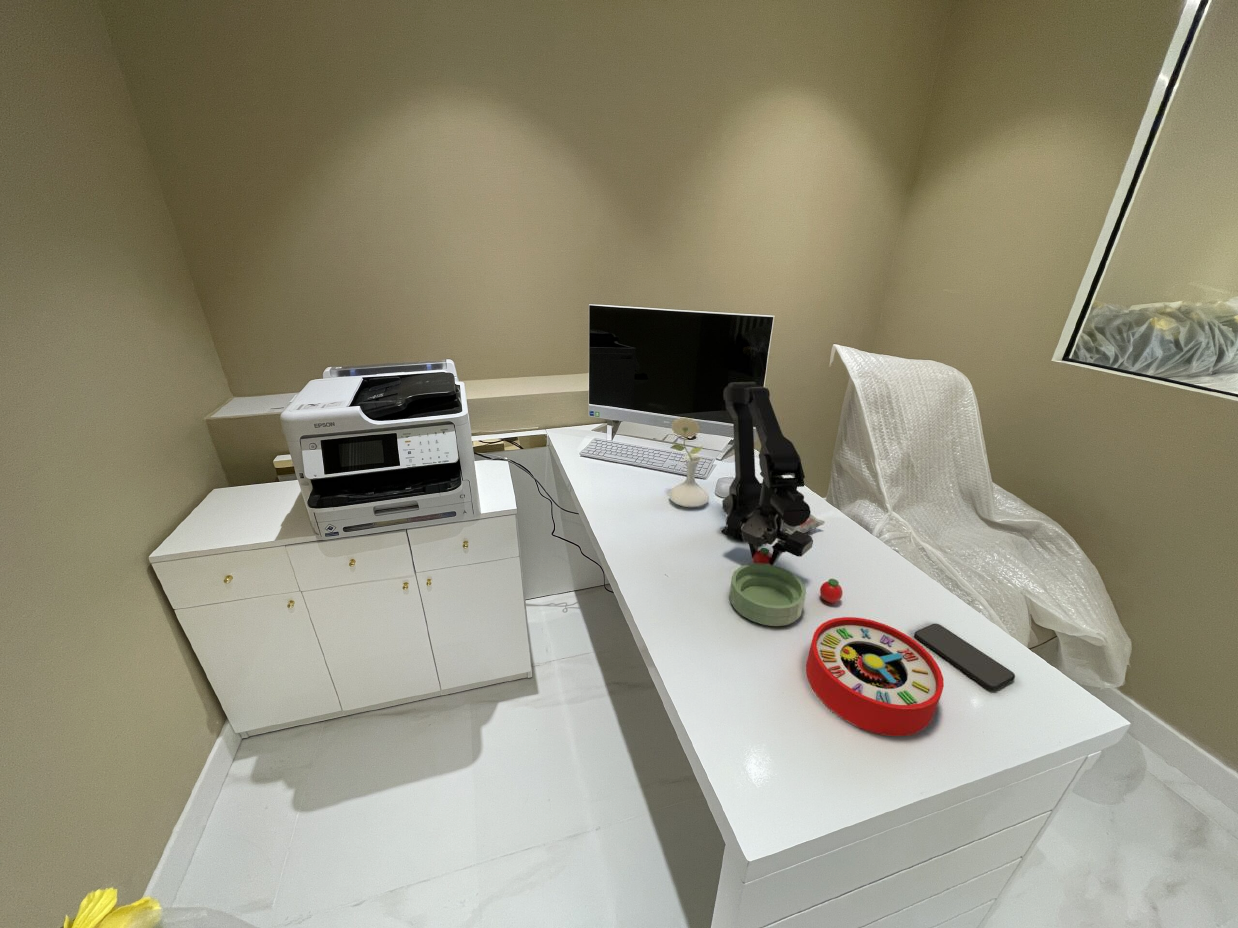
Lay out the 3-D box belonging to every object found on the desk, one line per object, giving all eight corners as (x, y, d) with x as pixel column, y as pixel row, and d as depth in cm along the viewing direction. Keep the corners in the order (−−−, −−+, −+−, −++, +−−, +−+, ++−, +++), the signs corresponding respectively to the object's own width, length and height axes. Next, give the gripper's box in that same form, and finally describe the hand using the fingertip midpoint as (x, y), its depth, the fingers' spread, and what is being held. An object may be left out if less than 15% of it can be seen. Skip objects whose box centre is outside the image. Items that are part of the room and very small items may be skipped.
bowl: (752, 573, 114) (755, 555, 112) (813, 604, 105) (818, 584, 103) (715, 602, 105) (718, 583, 103) (779, 639, 95) (783, 618, 93)
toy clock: (788, 627, 90) (879, 608, 95) (783, 652, 92) (872, 632, 98) (868, 722, 73) (974, 692, 78) (859, 749, 75) (963, 719, 80)
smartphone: (936, 621, 100) (1018, 674, 87) (935, 625, 100) (1016, 678, 88) (911, 632, 97) (993, 689, 84) (910, 636, 97) (991, 693, 85)
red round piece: (758, 559, 119) (761, 542, 117) (775, 567, 117) (778, 550, 115) (748, 567, 116) (751, 549, 114) (765, 575, 114) (768, 557, 112)
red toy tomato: (817, 591, 109) (821, 573, 107) (838, 595, 108) (843, 577, 106) (819, 604, 105) (823, 586, 103) (841, 608, 104) (846, 589, 102)
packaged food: (822, 531, 132) (826, 514, 130) (794, 545, 125) (798, 528, 123) (794, 517, 138) (797, 501, 136) (766, 530, 132) (769, 513, 130)
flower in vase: (714, 499, 146) (724, 418, 136) (698, 515, 138) (707, 429, 127) (674, 487, 153) (680, 409, 142) (656, 502, 144) (661, 419, 134)
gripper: (715, 499, 110) (708, 558, 116) (795, 532, 98) (782, 596, 105) (743, 484, 117) (735, 540, 124) (820, 513, 106) (807, 574, 112)
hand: (762, 561), depth 116 cm, fingers closed on red round piece, 4 cm apart
